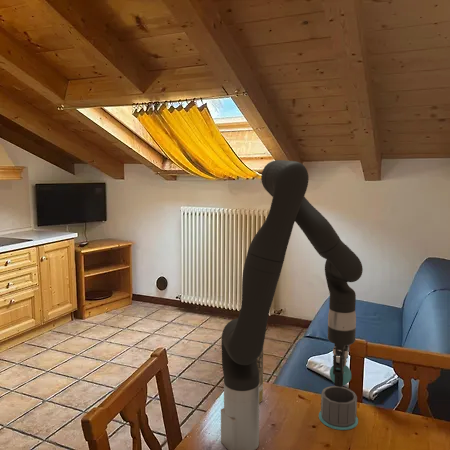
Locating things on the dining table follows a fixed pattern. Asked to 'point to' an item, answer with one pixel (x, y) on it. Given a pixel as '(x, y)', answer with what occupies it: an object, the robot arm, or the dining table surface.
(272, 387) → the dining table surface
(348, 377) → the ball
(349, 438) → the dining table surface
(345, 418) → the grey ribbed round container
